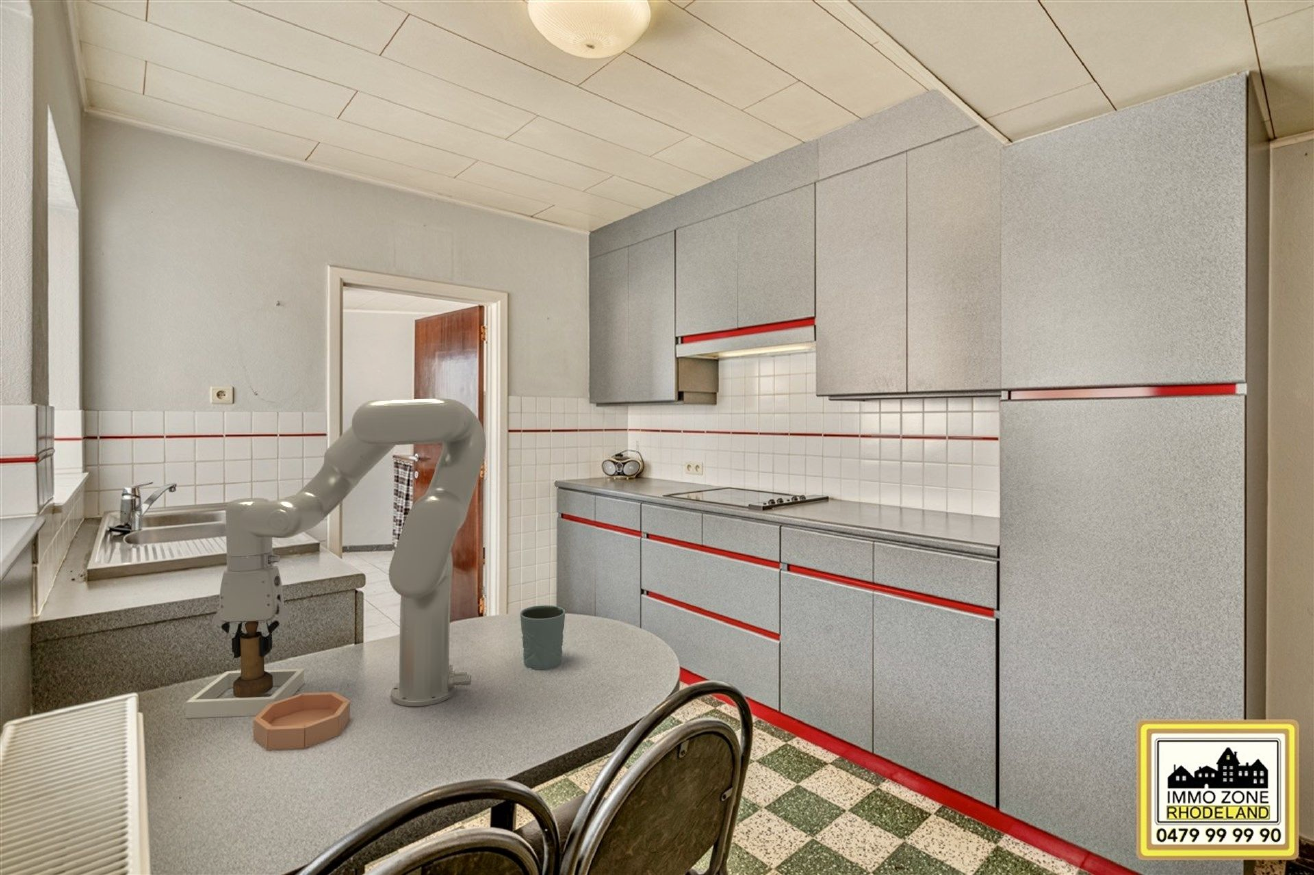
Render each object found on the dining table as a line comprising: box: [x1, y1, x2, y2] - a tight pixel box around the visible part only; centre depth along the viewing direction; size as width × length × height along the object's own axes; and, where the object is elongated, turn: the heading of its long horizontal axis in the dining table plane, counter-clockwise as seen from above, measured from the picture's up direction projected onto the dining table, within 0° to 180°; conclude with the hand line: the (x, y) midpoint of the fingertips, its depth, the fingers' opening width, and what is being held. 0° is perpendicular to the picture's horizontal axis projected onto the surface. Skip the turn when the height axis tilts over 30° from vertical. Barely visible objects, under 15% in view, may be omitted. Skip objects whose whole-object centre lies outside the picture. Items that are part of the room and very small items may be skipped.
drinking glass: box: [519, 604, 566, 671], centre depth 146 cm, size 10×10×12 cm
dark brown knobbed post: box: [232, 621, 274, 698], centre depth 124 cm, size 7×6×18 cm
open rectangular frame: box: [185, 668, 305, 719], centre depth 124 cm, size 15×14×3 cm
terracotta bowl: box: [252, 691, 351, 751], centre depth 114 cm, size 14×14×4 cm
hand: (252, 654), depth 124 cm, fingers closed on dark brown knobbed post, 3 cm apart
